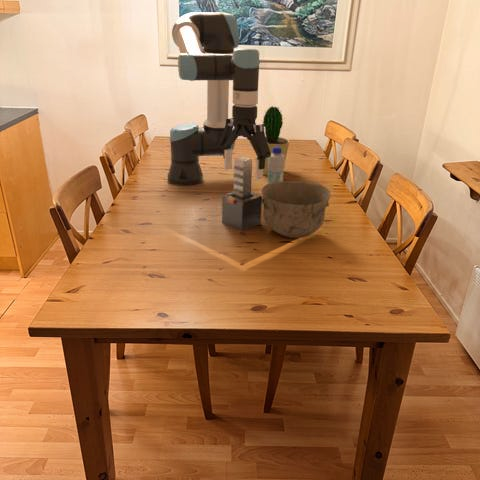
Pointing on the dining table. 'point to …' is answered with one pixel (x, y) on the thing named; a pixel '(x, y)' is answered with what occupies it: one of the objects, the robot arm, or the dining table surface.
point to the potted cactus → (274, 133)
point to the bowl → (295, 207)
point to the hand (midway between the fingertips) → (243, 174)
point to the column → (242, 177)
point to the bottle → (276, 166)
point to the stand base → (241, 211)
